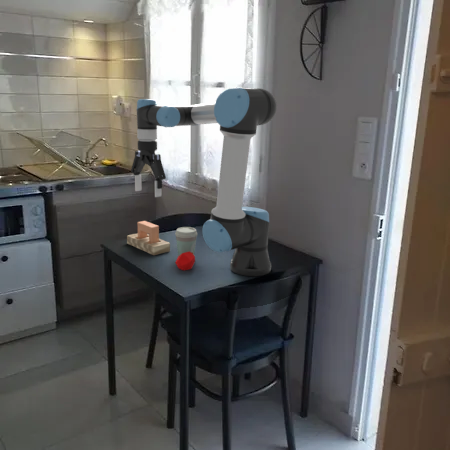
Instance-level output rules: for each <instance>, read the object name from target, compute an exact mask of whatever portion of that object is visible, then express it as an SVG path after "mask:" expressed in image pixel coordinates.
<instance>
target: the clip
mask: <svg viewBox="0 0 450 450" xmlns="http://www.w3.org/2000/svg"><path fill="white" fill-rule="evenodd" d="M159 229H160V226H159V225H157V224H154V223H152V222H149V221H147V220H142V221H137V233H138V239H141V238H146V237H147V234H149V243H150V244H153V243H157V242H159V239H160V230H159Z"/></svg>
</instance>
